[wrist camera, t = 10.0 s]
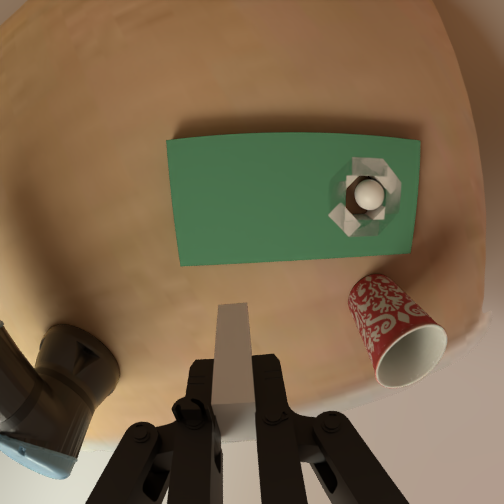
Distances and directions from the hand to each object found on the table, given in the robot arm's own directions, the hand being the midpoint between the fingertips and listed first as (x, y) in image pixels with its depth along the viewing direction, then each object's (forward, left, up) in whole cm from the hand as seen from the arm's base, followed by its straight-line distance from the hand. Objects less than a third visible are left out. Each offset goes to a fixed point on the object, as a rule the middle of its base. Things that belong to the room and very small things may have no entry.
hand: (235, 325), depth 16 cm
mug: (+18, -13, -20) cm, 30 cm away
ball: (+15, +3, -18) cm, 23 cm away
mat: (+7, +3, -20) cm, 21 cm away
